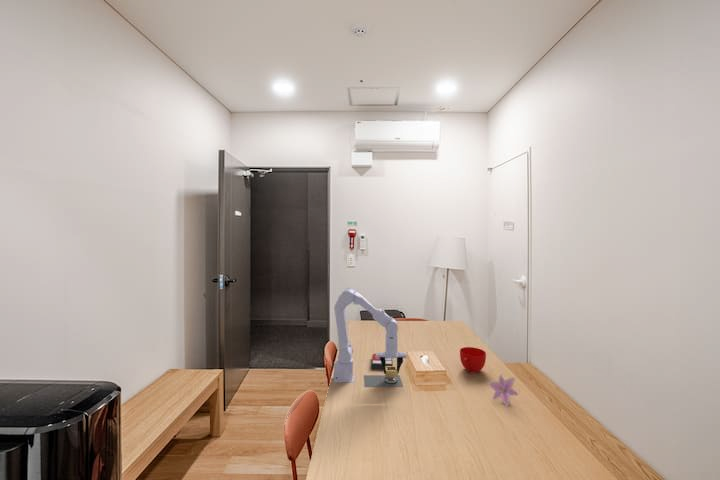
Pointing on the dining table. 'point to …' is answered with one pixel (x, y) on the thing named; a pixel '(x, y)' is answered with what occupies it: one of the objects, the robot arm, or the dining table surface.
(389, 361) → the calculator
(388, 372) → the bronze square frame
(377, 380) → the mat
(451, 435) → the dining table surface
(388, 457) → the dining table surface
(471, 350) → the ceramic cup
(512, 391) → the lily
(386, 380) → the silver disc with post
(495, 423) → the dining table surface
